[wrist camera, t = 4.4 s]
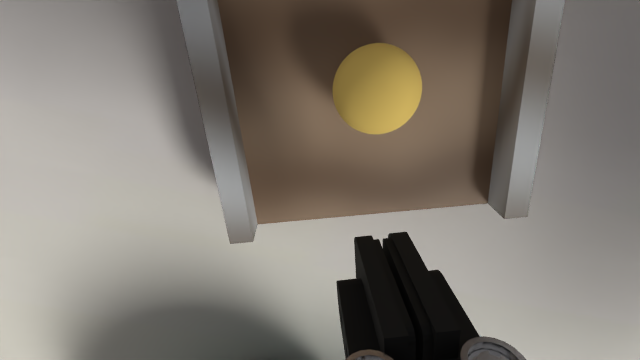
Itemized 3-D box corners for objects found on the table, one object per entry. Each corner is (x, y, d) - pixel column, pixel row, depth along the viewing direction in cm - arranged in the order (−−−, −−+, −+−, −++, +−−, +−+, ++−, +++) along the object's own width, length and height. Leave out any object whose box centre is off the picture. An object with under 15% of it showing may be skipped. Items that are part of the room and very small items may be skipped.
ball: (407, 119, 15) (433, 140, 12) (332, 126, 15) (339, 149, 12) (408, 38, 13) (437, 39, 10) (327, 45, 13) (332, 48, 10)
